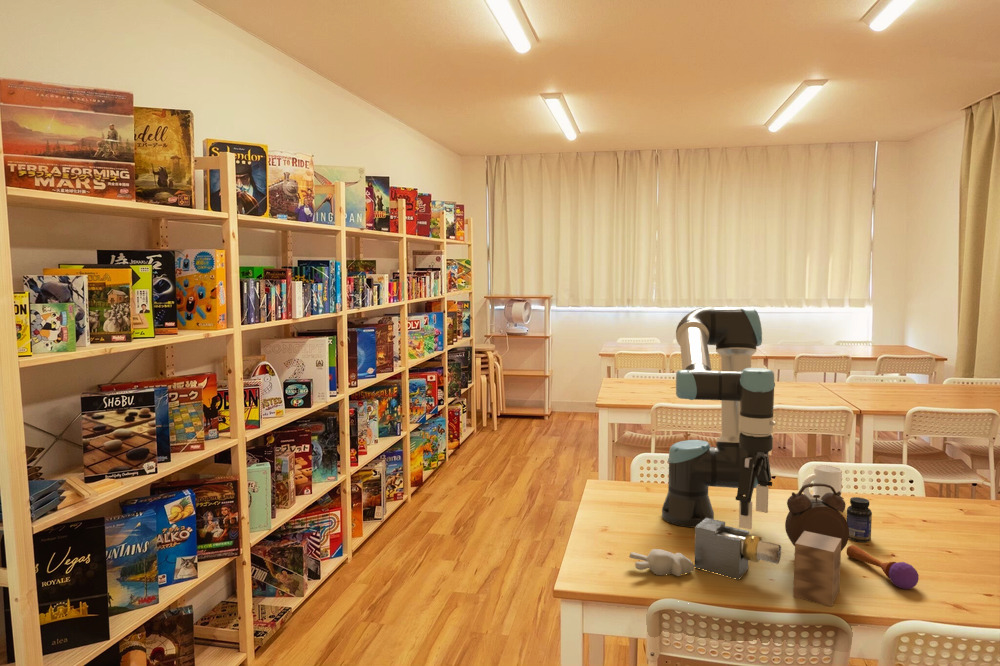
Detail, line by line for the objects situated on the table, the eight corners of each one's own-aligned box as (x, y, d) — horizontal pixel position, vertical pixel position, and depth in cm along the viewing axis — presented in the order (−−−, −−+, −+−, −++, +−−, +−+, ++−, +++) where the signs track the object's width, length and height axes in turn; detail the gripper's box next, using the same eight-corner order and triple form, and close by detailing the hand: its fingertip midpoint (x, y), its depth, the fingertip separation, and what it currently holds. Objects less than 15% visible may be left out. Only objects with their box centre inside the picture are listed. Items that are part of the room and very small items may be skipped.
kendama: (863, 541, 172) (926, 568, 153) (860, 563, 172) (922, 594, 153) (843, 538, 171) (904, 566, 152) (840, 561, 171) (900, 591, 152)
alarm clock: (836, 553, 174) (839, 479, 172) (849, 565, 167) (852, 488, 165) (780, 552, 175) (782, 478, 173) (790, 564, 168) (793, 487, 166)
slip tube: (695, 551, 166) (696, 528, 165) (704, 543, 171) (704, 520, 170) (775, 571, 155) (775, 546, 154) (781, 562, 159) (782, 538, 159)
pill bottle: (874, 543, 180) (875, 504, 179) (849, 541, 181) (851, 503, 180) (866, 534, 186) (868, 496, 185) (842, 533, 187) (844, 495, 186)
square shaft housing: (694, 568, 166) (695, 526, 165) (705, 557, 172) (705, 517, 171) (738, 580, 159) (739, 537, 158) (748, 568, 165) (749, 527, 164)
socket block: (793, 596, 151) (795, 543, 150) (802, 581, 158) (804, 530, 157) (831, 606, 146) (833, 552, 145) (839, 590, 154) (841, 538, 152)
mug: (795, 501, 213) (796, 464, 212) (832, 500, 214) (833, 464, 212) (807, 510, 205) (809, 472, 204) (845, 509, 205) (847, 472, 204)
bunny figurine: (699, 563, 160) (638, 558, 159) (696, 584, 160) (636, 579, 159) (686, 547, 169) (628, 542, 168) (683, 566, 169) (626, 562, 168)
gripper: (757, 445, 146) (754, 539, 147) (785, 425, 165) (783, 508, 167) (723, 441, 150) (721, 531, 152) (755, 422, 170) (753, 502, 172)
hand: (753, 519), depth 159 cm, fingers open, 13 cm apart
